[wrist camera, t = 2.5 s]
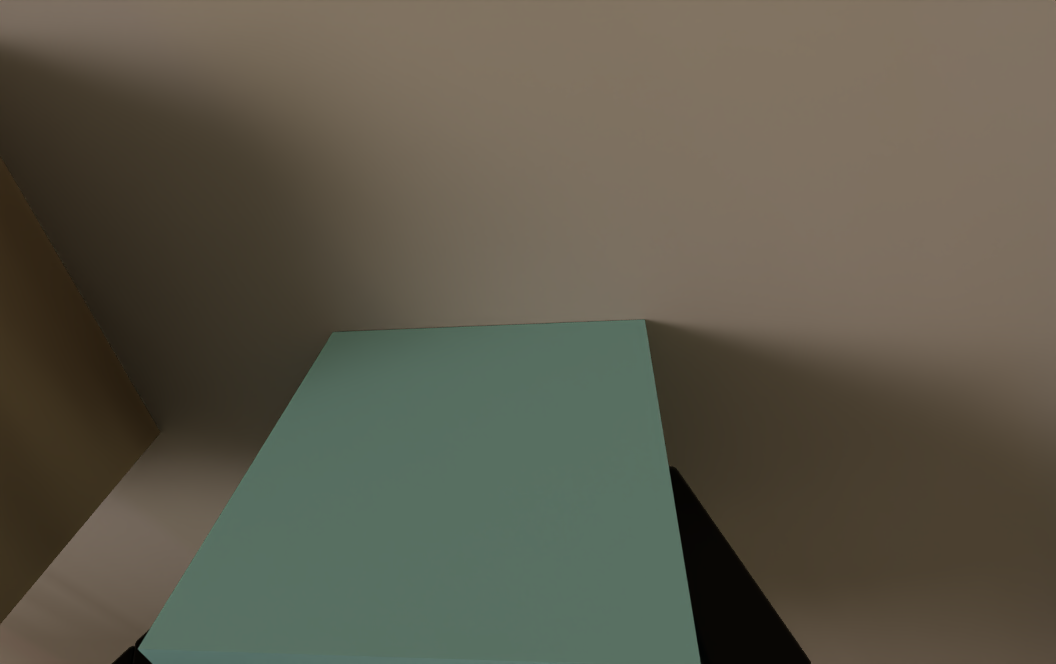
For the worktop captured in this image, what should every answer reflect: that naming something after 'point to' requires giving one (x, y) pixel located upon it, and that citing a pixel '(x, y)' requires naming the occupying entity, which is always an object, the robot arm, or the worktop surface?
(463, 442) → the teal cube
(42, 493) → the walnut block
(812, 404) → the worktop surface
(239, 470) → the worktop surface
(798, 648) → the robot arm
